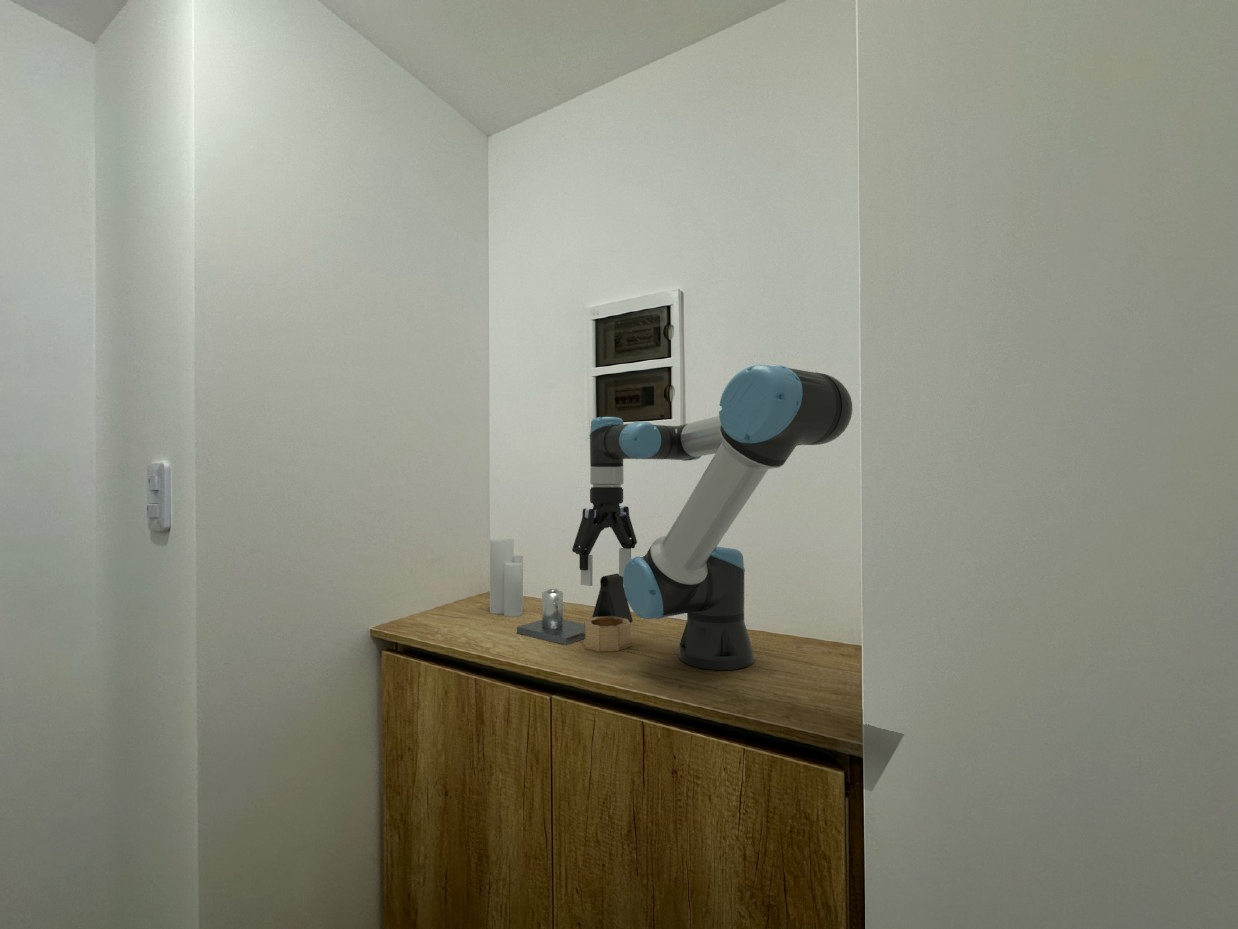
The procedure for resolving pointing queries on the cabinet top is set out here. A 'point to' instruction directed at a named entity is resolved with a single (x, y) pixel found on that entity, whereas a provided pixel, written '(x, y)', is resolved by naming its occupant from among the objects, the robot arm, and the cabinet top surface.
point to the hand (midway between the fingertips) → (606, 580)
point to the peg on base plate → (553, 622)
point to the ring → (606, 633)
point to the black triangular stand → (612, 598)
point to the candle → (505, 579)
